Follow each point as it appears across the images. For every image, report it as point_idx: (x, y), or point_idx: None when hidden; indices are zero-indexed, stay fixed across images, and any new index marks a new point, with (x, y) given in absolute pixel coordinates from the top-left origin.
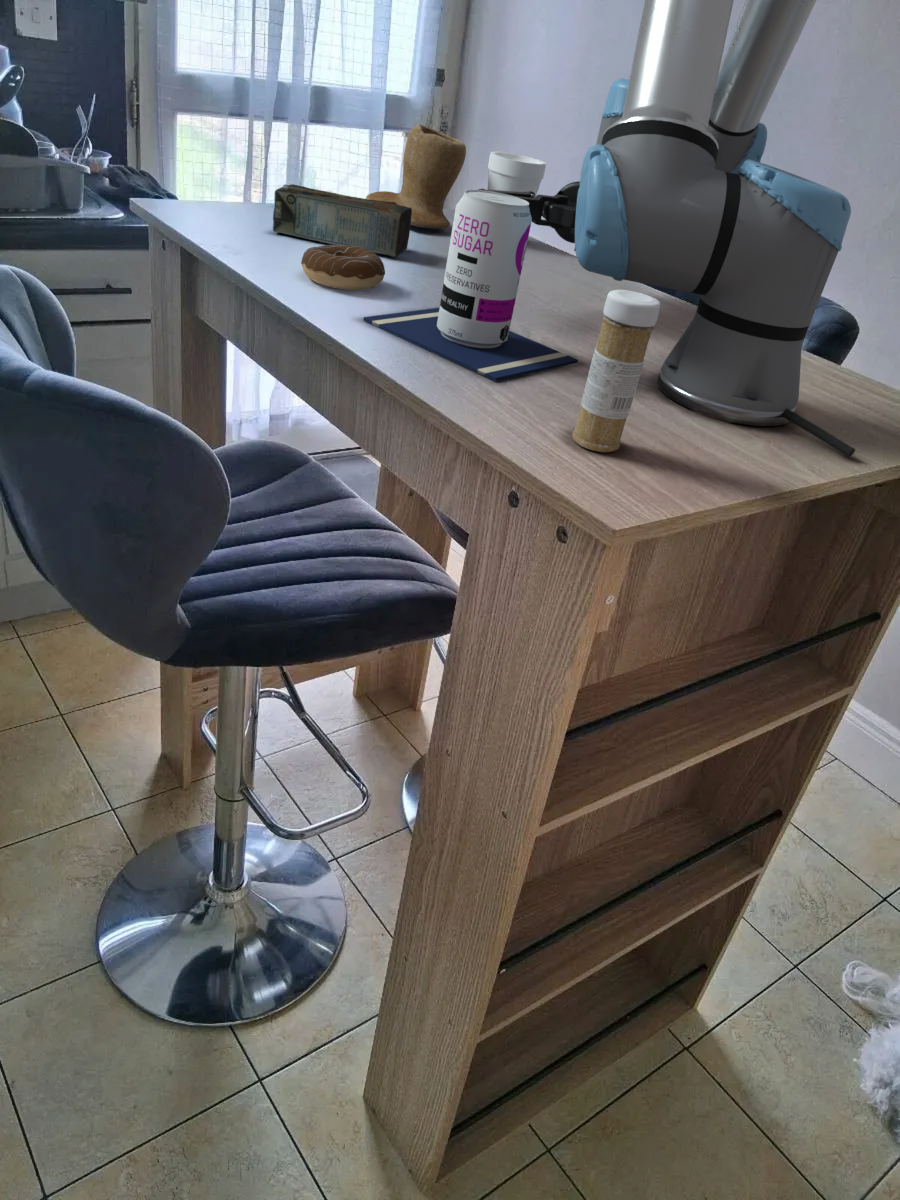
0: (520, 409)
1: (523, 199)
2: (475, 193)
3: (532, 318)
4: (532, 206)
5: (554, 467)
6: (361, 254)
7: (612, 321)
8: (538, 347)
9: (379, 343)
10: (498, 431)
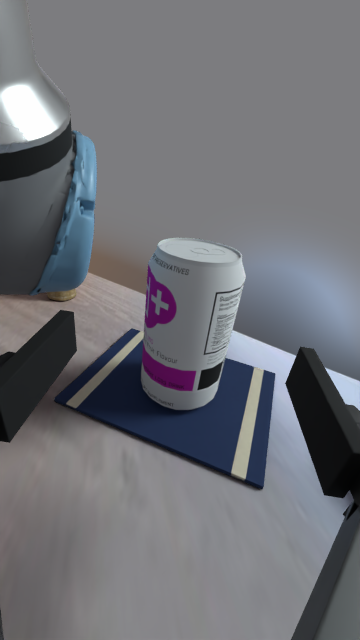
0: (108, 309)
1: (340, 568)
2: (230, 255)
3: (133, 594)
4: (305, 632)
5: (86, 279)
6: None
7: None
8: (105, 405)
9: (228, 345)
10: (116, 292)
